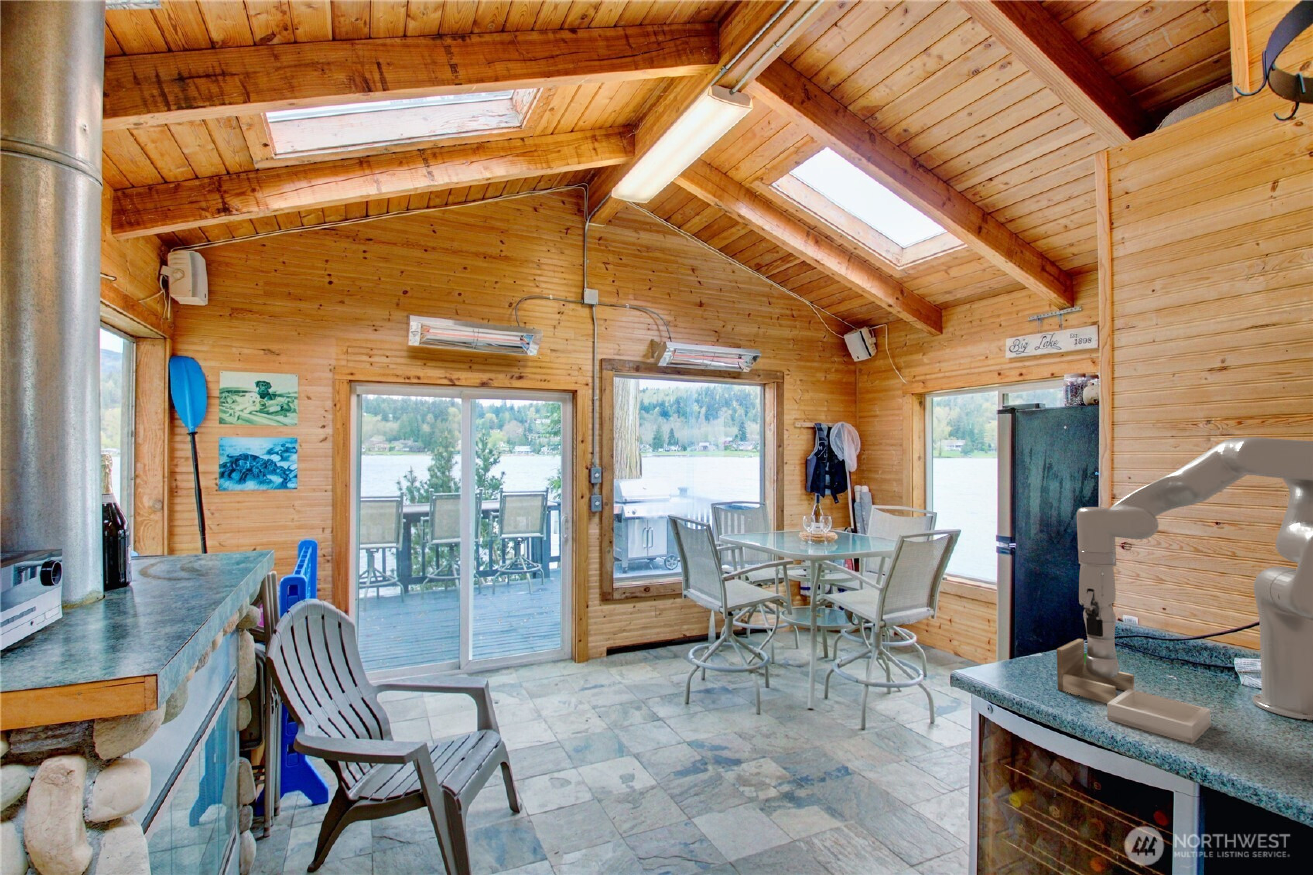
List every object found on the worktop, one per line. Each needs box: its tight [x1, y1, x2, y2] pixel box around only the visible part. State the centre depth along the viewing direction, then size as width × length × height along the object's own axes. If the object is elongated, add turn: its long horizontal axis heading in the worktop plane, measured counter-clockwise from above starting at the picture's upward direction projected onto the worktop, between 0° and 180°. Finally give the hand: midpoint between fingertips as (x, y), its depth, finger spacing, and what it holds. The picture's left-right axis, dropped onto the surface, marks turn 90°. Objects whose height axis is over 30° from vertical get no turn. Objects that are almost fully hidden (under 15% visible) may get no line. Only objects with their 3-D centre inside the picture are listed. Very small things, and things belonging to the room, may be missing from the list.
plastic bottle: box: [1082, 603, 1120, 678], centre depth 152 cm, size 6×7×20 cm
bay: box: [1056, 638, 1135, 704], centre depth 152 cm, size 12×13×10 cm
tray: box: [1106, 689, 1212, 745], centre depth 134 cm, size 14×13×4 cm
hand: (1100, 631), depth 152 cm, fingers closed on plastic bottle, 6 cm apart
